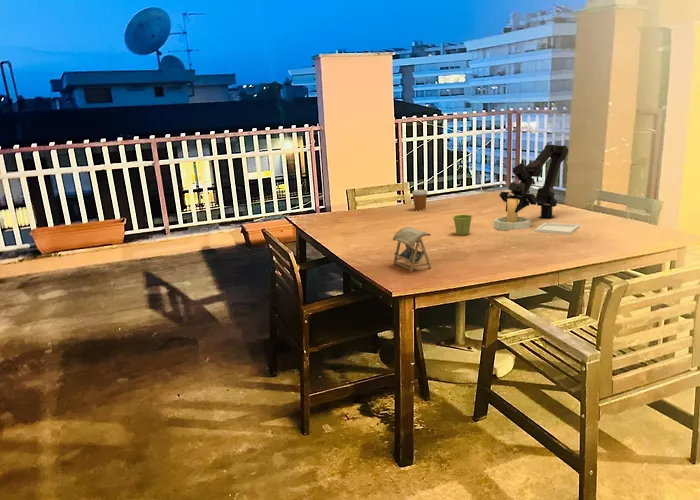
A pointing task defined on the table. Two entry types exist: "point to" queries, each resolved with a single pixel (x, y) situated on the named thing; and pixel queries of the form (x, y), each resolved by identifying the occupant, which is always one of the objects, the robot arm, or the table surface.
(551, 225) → the parts tray
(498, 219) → the sage bowl
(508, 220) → the orange tapered cylinder
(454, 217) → the plant pot
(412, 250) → the swing bench
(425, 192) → the disposable coffee cup
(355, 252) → the table surface
